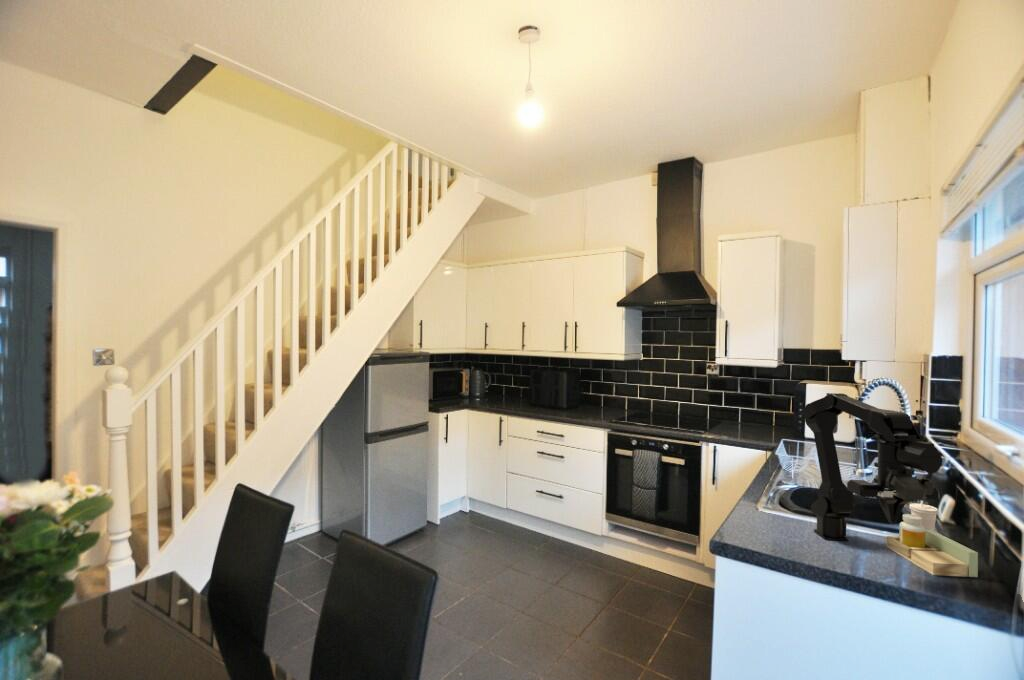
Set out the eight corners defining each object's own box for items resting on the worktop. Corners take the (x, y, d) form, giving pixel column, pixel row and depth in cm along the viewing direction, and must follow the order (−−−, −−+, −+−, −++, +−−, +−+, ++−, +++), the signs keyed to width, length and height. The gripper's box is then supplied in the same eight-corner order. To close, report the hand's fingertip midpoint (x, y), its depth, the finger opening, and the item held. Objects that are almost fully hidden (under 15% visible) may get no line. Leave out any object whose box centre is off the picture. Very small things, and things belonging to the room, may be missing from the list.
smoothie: (903, 535, 140) (903, 488, 140) (922, 535, 140) (923, 488, 140) (923, 544, 133) (924, 496, 133) (944, 544, 134) (944, 495, 134)
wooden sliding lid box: (933, 575, 116) (933, 563, 116) (886, 546, 132) (886, 536, 132) (967, 576, 115) (967, 564, 115) (916, 547, 131) (916, 537, 131)
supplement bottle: (930, 557, 125) (930, 521, 125) (906, 555, 126) (907, 519, 126) (916, 548, 130) (917, 513, 130) (894, 546, 131) (895, 512, 131)
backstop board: (968, 576, 115) (969, 552, 115) (923, 551, 129) (923, 529, 129) (977, 577, 115) (977, 552, 115) (931, 551, 129) (931, 529, 129)
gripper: (875, 469, 111) (875, 534, 111) (959, 471, 110) (958, 537, 110) (845, 457, 122) (845, 517, 122) (921, 459, 121) (920, 519, 121)
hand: (891, 523), depth 119 cm, fingers closed
